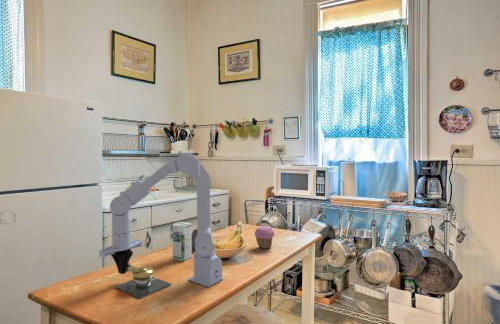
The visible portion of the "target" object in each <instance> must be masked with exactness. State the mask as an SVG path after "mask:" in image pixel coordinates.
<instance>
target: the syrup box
mask: <svg viewBox="0 0 500 324" xmlns="http://www.w3.org/2000/svg"><path fill="white" fill-rule="evenodd" d="M192 227H193V225H192V222H183V221H178V222H175V223H173V224H172V260H173V261H179V262H185V261H187V260H190V259H191V258H192V256H193V254H192V251H193V250H192V232H193V231H192V230H193V229H192Z"/></svg>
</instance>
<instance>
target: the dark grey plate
mask: <svg viewBox="0 0 500 324" xmlns="http://www.w3.org/2000/svg"><path fill="white" fill-rule="evenodd" d="M170 285H171V286H172V283H171V282H168V281H165V280H163V279H160V278H158V277H156V276H155V277H154V276H153V277H152V278H149V279H146V280H136V279H134V278H132V279H129V280H128V281H126V282H122V283H121V284H120V283H119V284H118V285H115V287H116V288H115V287H114V288H115V289H117V288H118V289H117V290H119V289H120V290H119V291H121V290H122V291H121V292H123V291H124V292H123V293H126V294H128V295H130V296H132V295H133V296H132V297H135V298H137V299H139V300H141V299H143V298H146V297H147V295H148V296H150V295H152V294H155V293H157V292H159V291H162V290H164V289H166V288H168V287H171V286H170ZM163 288H164V289H163ZM161 289H162V290H161ZM156 291H157V292H156ZM154 292H155V293H154ZM149 294H150V295H149ZM145 296H146V297H145Z"/></svg>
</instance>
